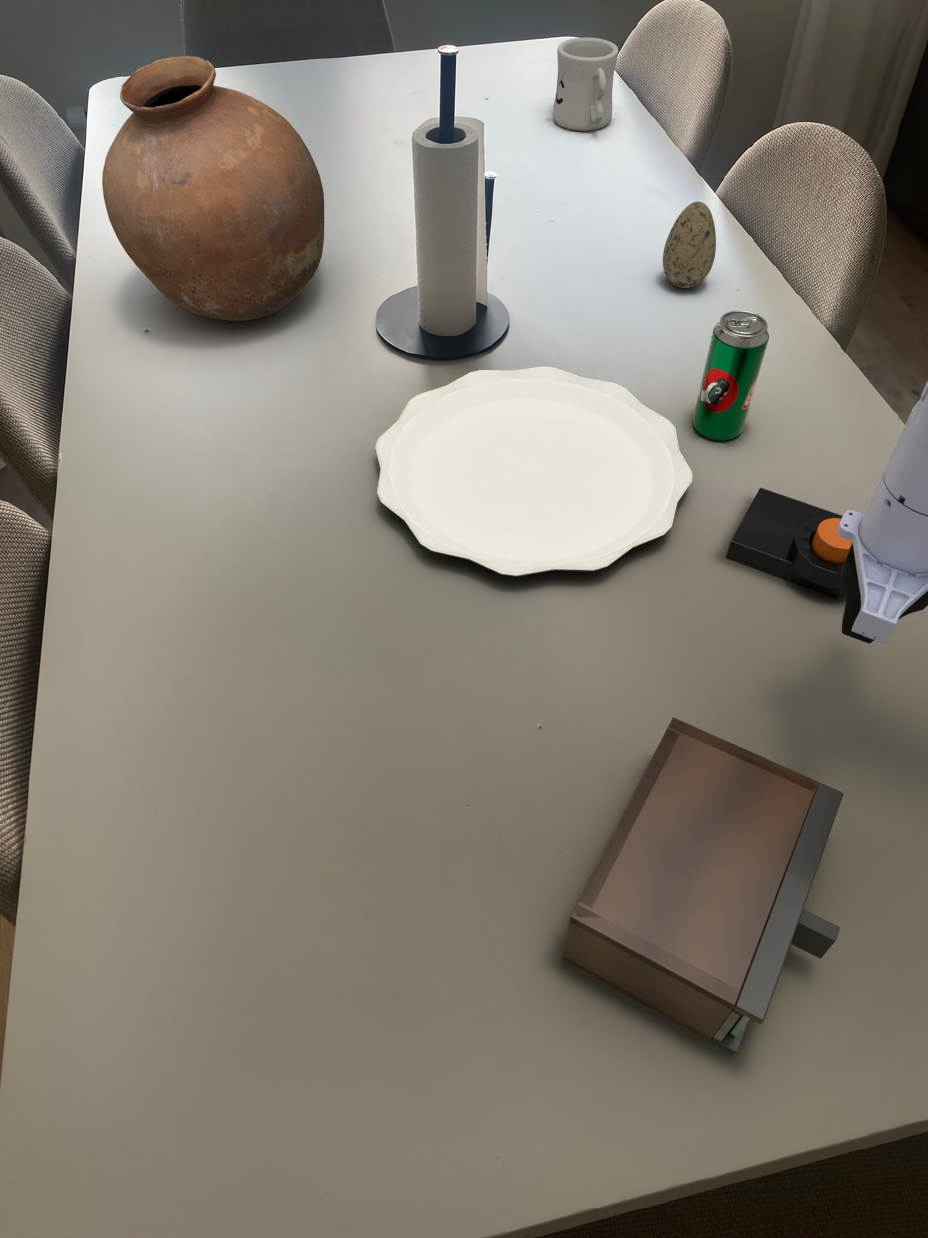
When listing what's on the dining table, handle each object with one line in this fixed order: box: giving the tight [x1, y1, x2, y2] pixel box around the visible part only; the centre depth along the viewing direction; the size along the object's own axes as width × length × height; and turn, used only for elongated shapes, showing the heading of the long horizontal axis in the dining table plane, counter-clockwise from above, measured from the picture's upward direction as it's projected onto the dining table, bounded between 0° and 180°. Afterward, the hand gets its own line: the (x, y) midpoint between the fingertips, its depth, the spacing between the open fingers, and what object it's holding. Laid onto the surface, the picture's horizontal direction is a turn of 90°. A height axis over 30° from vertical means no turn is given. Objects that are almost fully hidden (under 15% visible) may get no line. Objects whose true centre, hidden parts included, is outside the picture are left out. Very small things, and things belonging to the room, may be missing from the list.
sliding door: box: [731, 908, 841, 1036], centre depth 54 cm, size 3×8×5 cm, turn 150°
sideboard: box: [560, 717, 845, 1056], centre depth 58 cm, size 12×16×7 cm
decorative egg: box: [662, 201, 717, 289], centre depth 106 cm, size 6×6×10 cm
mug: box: [552, 37, 619, 132], centre depth 136 cm, size 12×9×10 cm
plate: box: [374, 365, 693, 578], centre depth 87 cm, size 29×29×2 cm
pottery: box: [101, 55, 325, 322], centre depth 99 cm, size 23×23×25 cm
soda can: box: [692, 310, 770, 442], centre depth 88 cm, size 5×5×12 cm
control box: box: [725, 487, 845, 601], centre depth 79 cm, size 11×9×4 cm
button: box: [812, 518, 852, 563], centre depth 76 cm, size 4×4×2 cm
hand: (858, 632), depth 64 cm, fingers closed
